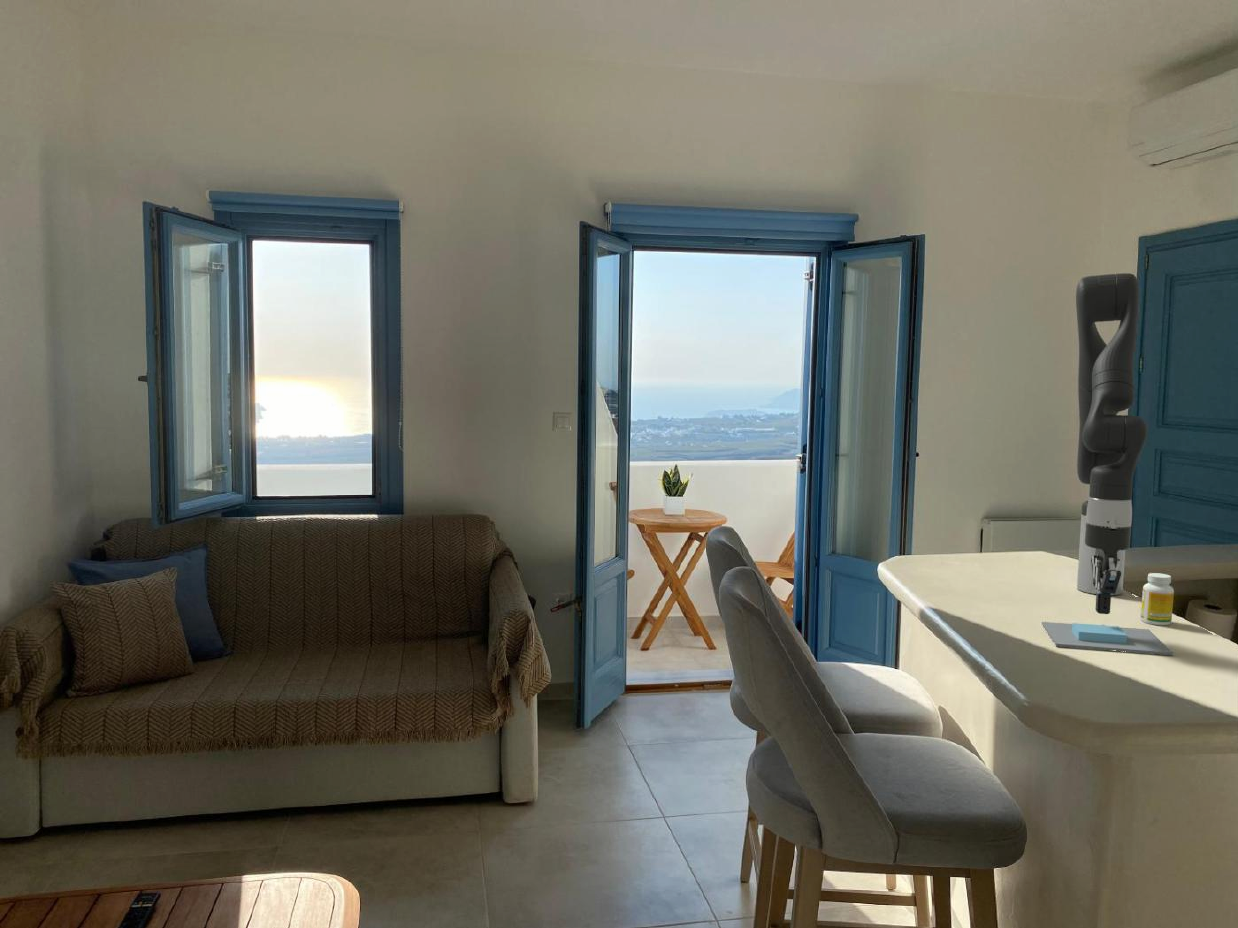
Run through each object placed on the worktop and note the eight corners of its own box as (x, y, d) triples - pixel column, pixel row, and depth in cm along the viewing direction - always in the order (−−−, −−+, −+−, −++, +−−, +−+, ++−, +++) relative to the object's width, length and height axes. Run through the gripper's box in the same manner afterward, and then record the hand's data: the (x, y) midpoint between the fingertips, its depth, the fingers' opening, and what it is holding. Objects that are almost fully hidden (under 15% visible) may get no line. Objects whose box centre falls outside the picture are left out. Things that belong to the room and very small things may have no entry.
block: (1072, 622, 179) (1078, 631, 173) (1118, 626, 177) (1126, 635, 171) (1071, 631, 179) (1078, 640, 173) (1118, 634, 177) (1126, 643, 171)
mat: (1041, 624, 186) (1041, 621, 186) (1148, 632, 181) (1148, 629, 181) (1056, 646, 171) (1056, 643, 171) (1172, 655, 166) (1172, 652, 166)
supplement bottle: (1134, 619, 190) (1137, 572, 189) (1156, 617, 191) (1159, 571, 190) (1155, 626, 185) (1159, 578, 184) (1178, 624, 186) (1181, 577, 185)
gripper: (1079, 515, 183) (1073, 602, 184) (1094, 526, 170) (1088, 620, 172) (1121, 517, 181) (1115, 605, 183) (1140, 529, 168) (1133, 623, 170)
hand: (1102, 612), depth 177 cm, fingers closed
